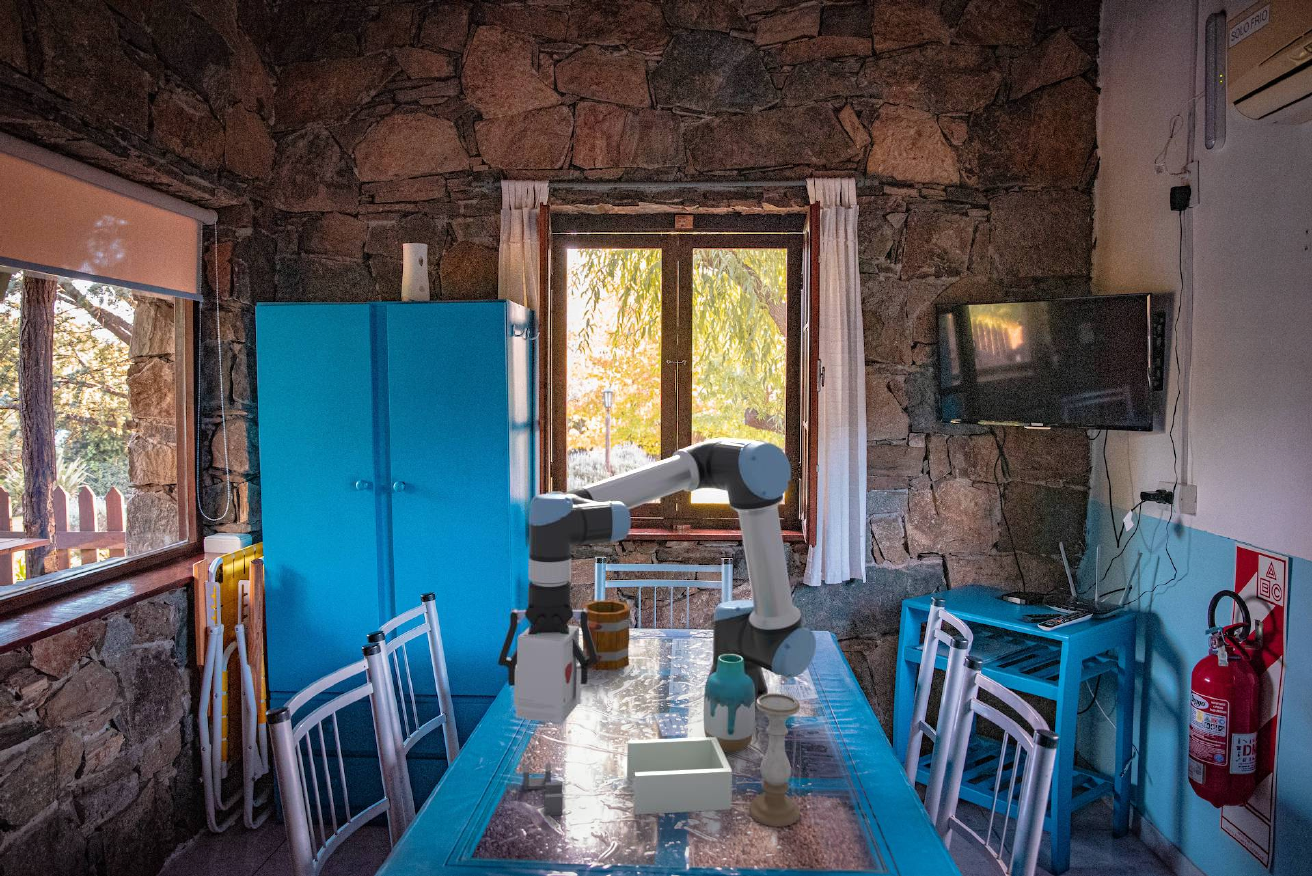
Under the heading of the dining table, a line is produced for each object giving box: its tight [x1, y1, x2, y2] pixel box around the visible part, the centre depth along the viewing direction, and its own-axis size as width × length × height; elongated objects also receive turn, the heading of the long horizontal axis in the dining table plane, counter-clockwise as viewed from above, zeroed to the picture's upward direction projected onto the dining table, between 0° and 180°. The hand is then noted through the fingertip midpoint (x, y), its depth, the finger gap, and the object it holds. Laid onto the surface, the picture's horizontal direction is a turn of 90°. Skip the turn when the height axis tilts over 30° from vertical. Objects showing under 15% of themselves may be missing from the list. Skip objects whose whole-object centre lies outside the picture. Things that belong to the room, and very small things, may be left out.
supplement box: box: [515, 624, 580, 725], centre depth 140 cm, size 9×9×15 cm
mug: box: [581, 600, 631, 672], centre depth 205 cm, size 20×14×15 cm
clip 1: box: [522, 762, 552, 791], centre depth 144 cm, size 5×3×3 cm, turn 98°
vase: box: [703, 654, 756, 754], centre depth 160 cm, size 11×11×19 cm
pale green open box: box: [626, 736, 733, 816], centre depth 143 cm, size 17×13×7 cm
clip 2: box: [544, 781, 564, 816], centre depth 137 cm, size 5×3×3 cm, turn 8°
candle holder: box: [748, 693, 801, 828], centre depth 136 cm, size 9×9×20 cm
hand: (547, 701), depth 140 cm, fingers closed on supplement box, 10 cm apart
